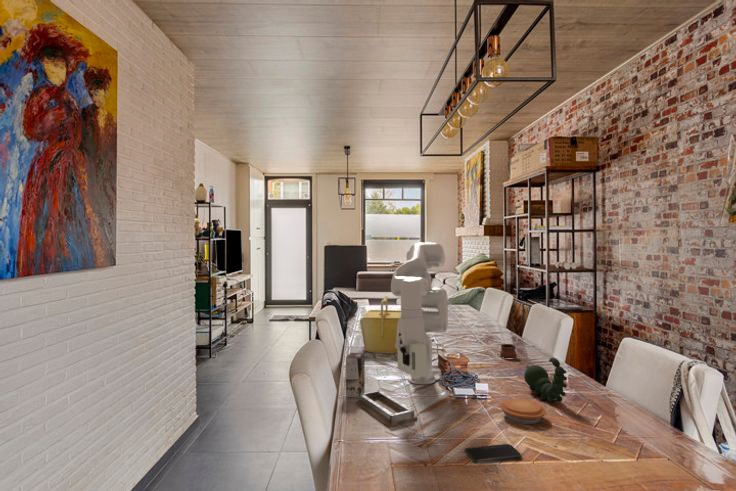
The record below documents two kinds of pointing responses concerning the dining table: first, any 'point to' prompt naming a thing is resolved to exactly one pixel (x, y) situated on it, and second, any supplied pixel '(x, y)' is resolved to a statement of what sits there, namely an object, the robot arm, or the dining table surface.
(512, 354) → the ceramic pot
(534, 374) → the toy figurine
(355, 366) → the coffee box
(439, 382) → the dining table surface
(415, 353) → the pale green block
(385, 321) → the picnic basket
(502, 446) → the phone
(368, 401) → the grey rectangular tray
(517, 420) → the pie
